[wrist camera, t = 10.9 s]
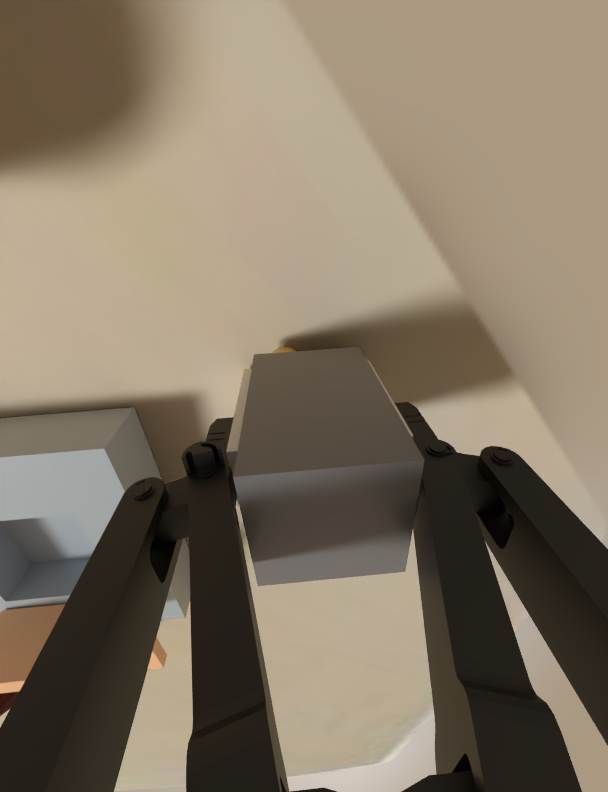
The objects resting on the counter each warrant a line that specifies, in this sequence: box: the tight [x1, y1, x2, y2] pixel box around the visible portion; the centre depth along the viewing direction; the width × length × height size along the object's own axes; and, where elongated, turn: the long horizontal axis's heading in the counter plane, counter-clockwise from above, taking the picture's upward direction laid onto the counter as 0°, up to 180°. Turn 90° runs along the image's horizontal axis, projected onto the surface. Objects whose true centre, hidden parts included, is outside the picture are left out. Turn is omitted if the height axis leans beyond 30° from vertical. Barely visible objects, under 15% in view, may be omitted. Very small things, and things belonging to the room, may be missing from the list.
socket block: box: [0, 407, 190, 621], centre depth 20 cm, size 15×13×4 cm
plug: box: [233, 346, 425, 586], centre depth 14 cm, size 5×5×9 cm
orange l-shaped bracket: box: [0, 604, 167, 693], centre depth 21 cm, size 8×8×4 cm
